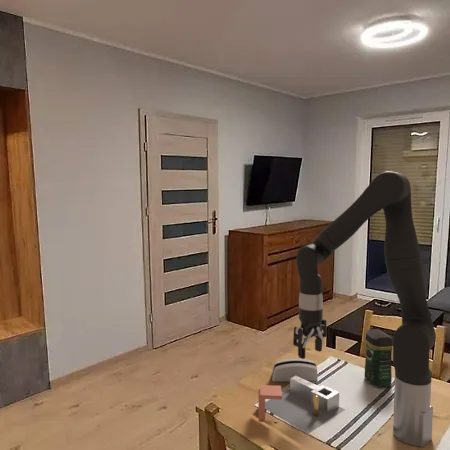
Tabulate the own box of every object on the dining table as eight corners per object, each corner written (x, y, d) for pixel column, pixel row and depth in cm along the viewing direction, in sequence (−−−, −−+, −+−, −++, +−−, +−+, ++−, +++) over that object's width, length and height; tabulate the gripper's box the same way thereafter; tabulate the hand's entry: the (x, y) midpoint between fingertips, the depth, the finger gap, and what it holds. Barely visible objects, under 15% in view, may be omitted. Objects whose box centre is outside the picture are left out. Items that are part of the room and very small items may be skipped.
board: (344, 411, 125) (344, 409, 125) (307, 436, 113) (308, 433, 113) (296, 388, 140) (296, 385, 140) (259, 407, 128) (259, 405, 128)
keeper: (280, 411, 126) (280, 385, 125) (281, 422, 120) (282, 395, 119) (258, 410, 127) (258, 385, 126) (258, 421, 121) (258, 395, 120)
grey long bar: (339, 407, 126) (339, 392, 126) (327, 414, 122) (327, 399, 122) (298, 387, 139) (298, 374, 138) (286, 394, 135) (287, 379, 134)
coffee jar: (395, 387, 140) (397, 336, 138) (374, 389, 139) (375, 337, 137) (381, 374, 149) (382, 326, 147) (361, 376, 148) (362, 327, 146)
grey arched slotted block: (315, 376, 149) (317, 355, 145) (317, 386, 145) (320, 365, 140) (270, 376, 149) (271, 356, 145) (271, 386, 145) (273, 365, 140)
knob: (319, 418, 122) (319, 396, 121) (316, 420, 121) (316, 398, 120) (315, 415, 123) (315, 394, 123) (312, 417, 122) (312, 396, 122)
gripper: (306, 313, 121) (305, 364, 123) (333, 304, 130) (333, 351, 132) (287, 307, 127) (287, 356, 128) (315, 299, 136) (314, 345, 137)
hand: (310, 354), depth 130 cm, fingers open, 8 cm apart
